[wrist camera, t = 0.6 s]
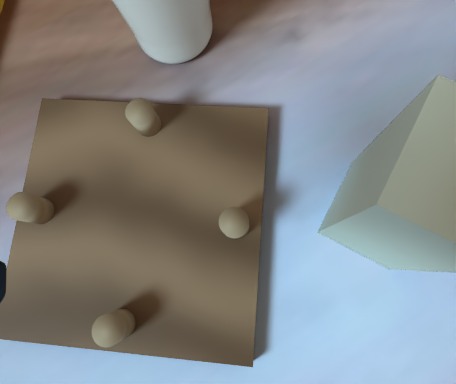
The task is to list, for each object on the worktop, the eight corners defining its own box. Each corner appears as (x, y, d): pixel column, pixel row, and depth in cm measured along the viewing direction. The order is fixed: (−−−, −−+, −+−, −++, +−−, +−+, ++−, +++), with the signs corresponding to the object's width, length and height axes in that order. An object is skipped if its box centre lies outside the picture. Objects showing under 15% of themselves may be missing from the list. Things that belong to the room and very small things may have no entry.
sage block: (388, 269, 20) (522, 275, 10) (317, 232, 20) (376, 204, 11) (422, 194, 20) (578, 132, 11) (352, 161, 21) (438, 74, 11)
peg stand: (252, 361, 19) (252, 379, 16) (4, 334, 20) (-37, 346, 17) (268, 115, 22) (270, 92, 19) (50, 105, 23) (22, 82, 20)
